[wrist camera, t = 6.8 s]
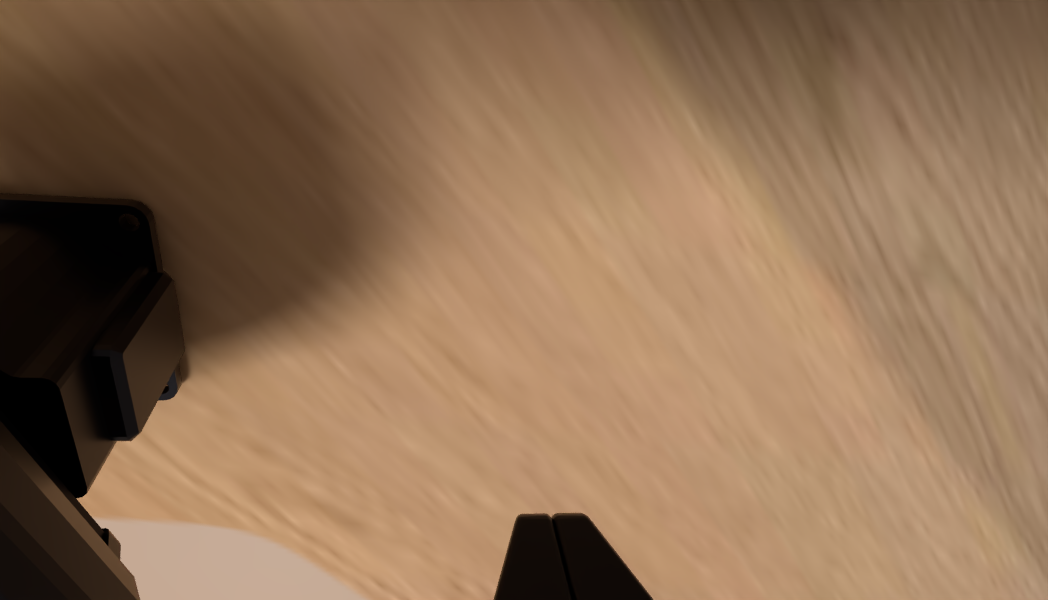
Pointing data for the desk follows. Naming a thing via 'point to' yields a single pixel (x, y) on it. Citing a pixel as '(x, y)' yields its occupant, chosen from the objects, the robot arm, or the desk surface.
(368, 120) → the desk surface
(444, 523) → the desk surface
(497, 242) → the desk surface
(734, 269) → the desk surface
